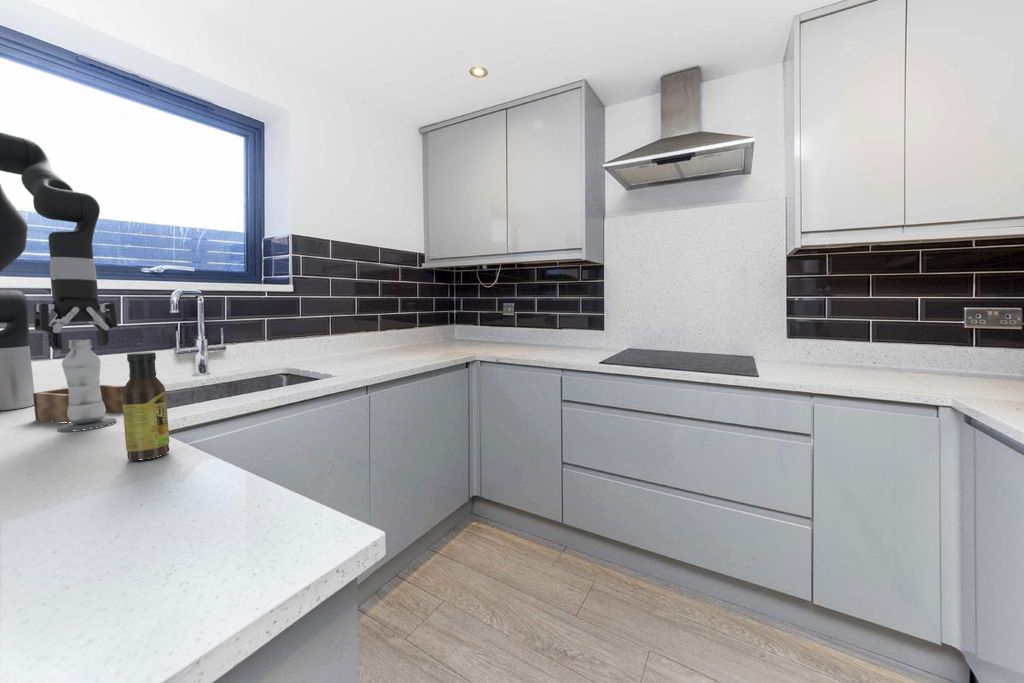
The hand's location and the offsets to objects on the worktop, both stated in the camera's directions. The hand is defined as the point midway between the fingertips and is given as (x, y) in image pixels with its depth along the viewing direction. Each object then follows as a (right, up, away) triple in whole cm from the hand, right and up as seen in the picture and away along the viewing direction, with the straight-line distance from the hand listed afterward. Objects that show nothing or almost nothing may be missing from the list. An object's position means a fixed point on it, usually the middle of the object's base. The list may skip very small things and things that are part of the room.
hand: (80, 347), depth 100 cm
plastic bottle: (0, -18, +2) cm, 19 cm away
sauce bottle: (+33, -21, -19) cm, 43 cm away
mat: (0, -19, +2) cm, 19 cm away
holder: (-10, -18, +11) cm, 23 cm away
